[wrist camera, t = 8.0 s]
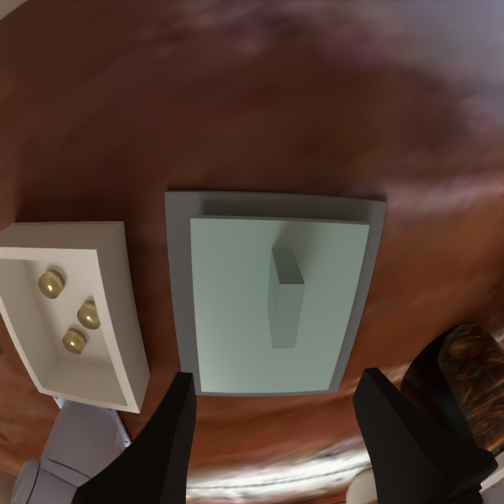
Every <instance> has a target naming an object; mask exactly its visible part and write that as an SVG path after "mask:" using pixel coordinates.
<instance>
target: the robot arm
mask: <svg viewBox="0 0 504 504" xmlns="http://www.w3.org/2000/svg"><path fill="white" fill-rule="evenodd" d="M53 397H54V399H55V401H56V403H57V404H58V406H59V408H60V411H59V414H58V416H57V418H56V421H55V423H54V425H53V428H52V430H51V432H50V435H49V437H48V440H47V442H46V445H45V447H44V450H43V452H42V455H41V458H40V460H39V461H36V460H35V459H31V460H27V461H26V462H25V463H24V465H23V466H22V468H21V470H20V472H19V475H18V477H17V480H16V482H15V485H14V488H13V492H12V500H11V503H10V504H186V482H187V470H188V463H189V457H190V452H191V446H192V440H193V435H194V429H195V421H196V405H197V402H196V394H195V386H194V378H193V373H189V372H177V373H176V374H175V376H174V379H173V381H172V383H171V385H170V387H169V389H168V391H167V392H166V394H165V396H164V398H163V399H162V401H161V403H160V404H159V406H158V407H157V409H156V411H155V412H154V414H153V415H152V417H151V418H150V419H149V421H148V422H147V424H146V425H145V426H144V428H143V429H142V430H141V432H140V433H139V434H138V435H137V437H136V438H135V439H134V440H133V441H132V442H131V440H130V438H129V436H128V434H127V432H126V430H125V428H124V426H123V424H122V422H121V419H120V417H119V415H118V413H117V411H116V410H115V409H110V408H104V407H99V406H94V405H89V404H84V403H80V402H75V401H71V400H67V399H63V398H59V397H55V396H53ZM352 399H353V404H354V409H355V414H356V418H357V421H358V424H359V427H360V430H361V433H362V436H363V439H364V442H365V445H366V448H367V451H368V454H369V457H370V460H371V464H372V469H373V474H374V479H375V486H376V493H377V502H378V504H504V486H503V484H502V483H500V484H498V485H496V486H495V487H493V488H491V489H490V490H488V491H486V492H485V493H483V494H482V495H480V492H479V491H480V490H482V486H481V484H480V483H481V482H483V481H484V480H485V479H486V478H488V477H489V476H490V475H491V474H492V473H493V472H494V471H495V470H496V469H497V468H498V463H497V461H496V459H495V457H494V455H493V453H492V452H491V451H488V450H485V449H483V448H480V447H477V446H475V445H472V444H470V443H468V442H466V441H464V440H462V439H460V438H458V437H456V436H455V435H453V434H451V433H450V432H448V431H446V430H445V429H443V428H442V427H440V426H439V425H438V424H436V423H435V422H434V421H432V420H431V419H429V418H428V417H427V416H426V415H425V414H423V413H422V412H421V411H420V410H419V409H418V408H417V407H415V406H414V405H413V404H412V403H411V402H410V401H409V400H408V399H407V398H406V397H405V396H404V395H403V394H402V393H401V392H400V391H399V390H398V389H397V388H396V387H395V386H394V385H393V384H392V383H391V382H390V381H389V380H388V378H387V377H386V376H385V375H384V374H383V373H382V372H381V371H380V370H379V369H378V368H377V367H376V368H367V369H364V371H363V374H362V376H361V379H360V381H359V384H358V386H357V389H356V391H355V393H354V396H353V398H352ZM125 447H127V448H126V449H125ZM124 449H125V450H124Z"/></svg>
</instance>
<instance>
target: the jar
mask: <svg viewBox="0 0 504 504" xmlns="http://www.w3.org/2000/svg"><path fill="white" fill-rule="evenodd" d="M400 392H401V393H402V394H403V395H404V396H405V397H406V398H407V399H408V400H409V401H410V402H411V403H412V404H413V405H414V406H415V407H417V408H418V409H419V410H420V411H421V412H422V413H423V414H425V415H426V416H427V417H428V418H429V419H431V420H432V421H434V422H435V423H436V424H438V425H439V426H440V427H442V428H443V429H445V430H446V431H448V432H450V433H451V434H453V435H455V436H456V437H458V438H460V439H462V440H464V441H466V442H468V443H470V444H472V445H475V446H477V447H480V448H483V449H485V450H488V451H491V452H492V453H493V455H494V457H495V459H496V461H497V463H498V468H497V469H496V470H495V471H494V472H493V473H492V474H491V475H490V476H489V477H488V478H486V479H485V480H484V481H483V482H481V483H480V484H481V486H482V490H480V491H479V492H481V491H483V490H485V489H486V488H488V487H490V486H491V485H493V484H494V483H496V482H497V481H499V480H500V479H501V478H503V477H504V350H503V349H502V348H501V346H500V345H499V344H498V343H497V342H496V340H495V339H494V338H493V337H492V336H491V335H490V334H489V332H488V331H487V330H486V329H485V328H484V327H483V326H481V325H480V324H477V323H467V324H463V325H460V326H458V327H456V328H454V329H452V330H450V331H448V332H446V333H445V334H443V335H442V336H440V337H439V338H438V339H436V340H435V341H434V342H433V343H431V344H430V345H429V346H428V347H427V348H426V349H425V350H424V351H423V352H422V353H421V354H420V355H419V356H418V357H417V358H416V359H415V361H414V362H413V363H412V365H411V366H410V367H409V369H408V370H407V372H406V374H405V376H404V378H403V380H402V383H401V388H400Z"/></svg>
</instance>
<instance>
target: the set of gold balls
mask: <svg viewBox="0 0 504 504" xmlns="http://www.w3.org/2000/svg"><path fill="white" fill-rule="evenodd" d="M38 286H39V289H40V291H41V292H42V293H43V294H44V295H45V296H46V297H47V298H50V299H55V298H57V297H58V296H59V294H60V293H61V292H62V291H63V290H64V287H65V282H64V279H63V277H62V276H61V274H60V273H59V272H57V271H56V270H53V269H49V270H47V271H46V272H45V273H44V274H43V275H42V276H41V277H40V278H39V280H38ZM77 318H78V320H79V322H80V323H81V324H82V325H83V326H84V327H85V328H87V329H91V330H95V329H97V328H99V326H100V320H99V316H98V313H97V309H96V305H95V302H94V301H85V302H84V303H83V304H82V306H81V307H80V309H79V310H78V312H77ZM62 343H63V345H64V347H65V348H66V349H67V350H68V351H69V352H71V353H73V354H80V353H82V351H83V349H84V347H85V345H86V343H87V340H86V337H85V336H84V334H83V333H82V332H80V331H79V330H77V329H73V328H71V329H68V330H67V332H66V333H65V335H64V337H63V338H62Z"/></svg>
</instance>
